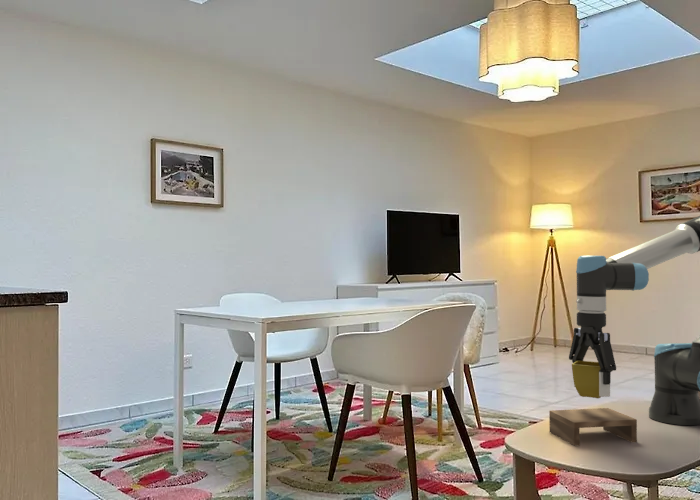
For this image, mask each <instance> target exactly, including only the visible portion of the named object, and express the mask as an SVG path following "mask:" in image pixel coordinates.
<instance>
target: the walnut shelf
mask: <svg viewBox="0 0 700 500" xmlns="http://www.w3.org/2000/svg"><path fill="white" fill-rule="evenodd" d="M548 412H549V416H548V417H549V433H550V432H551V434H553V436H555V437H558V438H559V437H560V438H559V439H561V440H563V441H565V442H567V443H569V444H571V445H572V446H575V447H576V446H580V445H581V444H580V443H581V441H580V439H581V438H580V437H581V436H580V435H581V434H580V429H585V428H590V429H591V428H603V429H602V430H603V431H606V432H608V433H610V434H613V435H615V436H616V437H619V438H621V439H623V440H625V441H628V442H629V443H637V442H638V425H637V422H638V419H636V418H635V417H631V416H629V415H627V414H625V413H622V412H619V411H616V410H613V409H611V408H609V407H600V408H580V409H578V408H577V409H555V410H553V409H552V410H549V411H548Z"/></svg>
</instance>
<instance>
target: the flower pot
mask: <svg viewBox="0 0 700 500" xmlns="http://www.w3.org/2000/svg"><path fill="white" fill-rule="evenodd" d="M604 367H605V366H604ZM571 369H572V379H573V386H574V385H575V387H574V388H575V390H576V392H577V393H578V395H579V397H582V398H593V399H601V398H602V397H600V396H599V370H600V369H601V368H600V366H599V363H598V361H589V360H583V361H576V362H574V363H573V362H572V363H571Z"/></svg>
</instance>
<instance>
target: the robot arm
mask: <svg viewBox="0 0 700 500" xmlns="http://www.w3.org/2000/svg"><path fill="white" fill-rule="evenodd" d="M698 252H700V215H699V216H696V217H694V218H692V219H689V220H687V221H685V222H683V223H680V224H678V225H677V226H676V227H675V229H674V230H672V231H670V232H667V233H665V234H662V235H660V236H657V237H655V238H653V239H651V240H647V241H646V242H643V243H641V244H639V245H636V246H633V247H631V248H628V249H626V250H624V251H621V252H619V253H616V254H614V255H612V256H610V257H607V258H606V256H605V255H579V256H578V258H577V260H576V269H575V270H576V271H575V273H576V301H575V302H576V310H577V313H576V325H577V326H578V327H574V328H573V336H572V340H571V341H572V342H571V345H570V351H569V355H568V360H570V361H572V364H573V363H574V362H576V361H584V359H585V357H586V355H587V353H588V350H589V347H590V348H591V350H593V352H594V355H595V358H596V360H597V362H598V363H599V366H600V368H601V369H600V370H599V396H600V397H601V398H607V397H611V380H612V379H611V373H612V372H613V371H617V365H616V361H615V356H614V351H613V348H612V343H611V334H610V332H603V328H605V327H606V326H607V314H606V313H605V312H606V311H607V291H639V290H644V289H646V287H647V285H648V283H649V280H650V279H649V277H650V274H649V270H648V269H651V268H653V267H655V266H656V267H657V266H658V265H660V264H662V263H665V262H669V261H670V260H673V259H674V258H678V257H679V256H682V255H684V254H691V255H692V254H696V253H698ZM653 358H654V394H653V397H652V400H651V403H650V406H649V408H648V418H650V419H652V420H654V421H656V422H660V423H665V424H671V425H678V426H679V425H680V426H699V425H700V397H699V392H700V336H699V337H698V338H695V339H694V340H692V342H691V343H689V342H688V343H687V342H685V343H683V342H682V343H679V342H678V343H677V342H676V343H672V342H671V343H658V344H657V345H655V347H654V355H653ZM604 366H605V367H604ZM573 388H576V387H575V385H574V384H573Z"/></svg>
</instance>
